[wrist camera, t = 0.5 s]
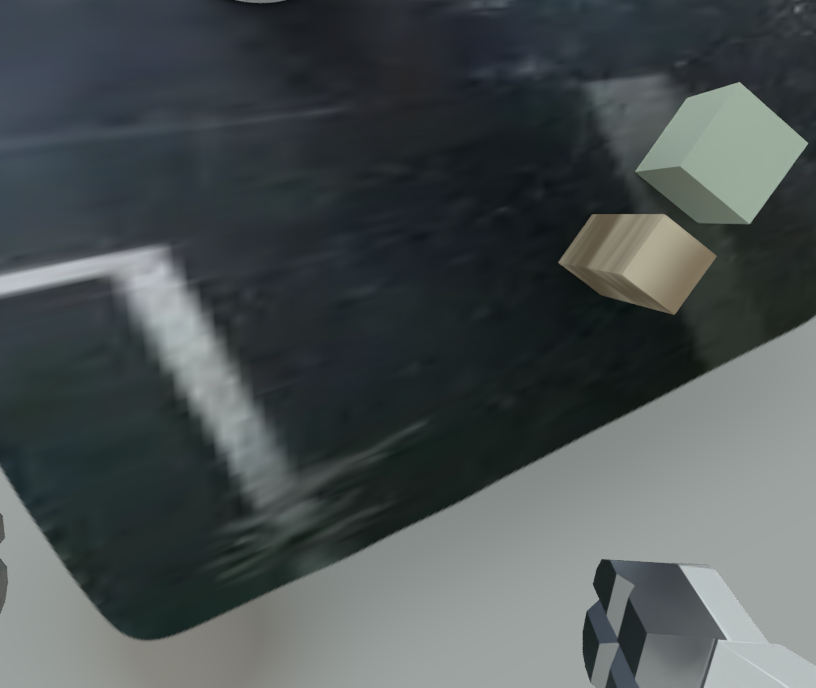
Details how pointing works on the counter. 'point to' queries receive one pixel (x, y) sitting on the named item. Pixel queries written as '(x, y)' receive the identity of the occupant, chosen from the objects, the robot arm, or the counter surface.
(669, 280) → the maple pillar
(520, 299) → the counter surface
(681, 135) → the sage block
